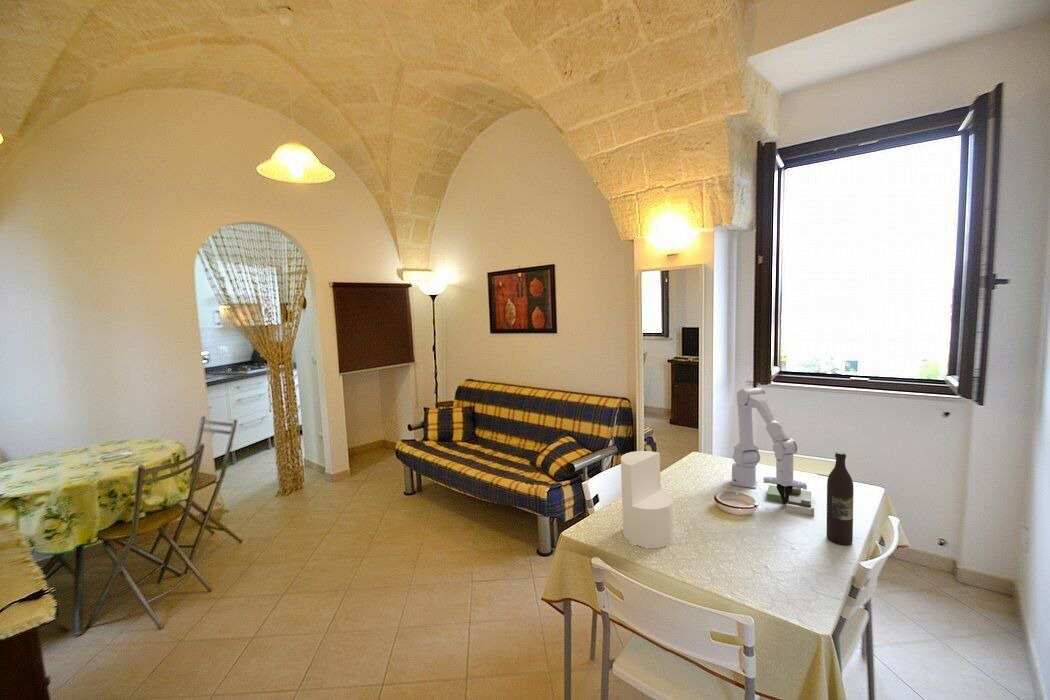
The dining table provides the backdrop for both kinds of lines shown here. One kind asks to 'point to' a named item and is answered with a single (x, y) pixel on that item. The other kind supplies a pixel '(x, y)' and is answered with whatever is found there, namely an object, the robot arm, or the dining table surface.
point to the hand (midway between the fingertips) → (784, 503)
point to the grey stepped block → (800, 501)
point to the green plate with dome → (796, 492)
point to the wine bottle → (840, 503)
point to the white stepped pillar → (645, 501)
